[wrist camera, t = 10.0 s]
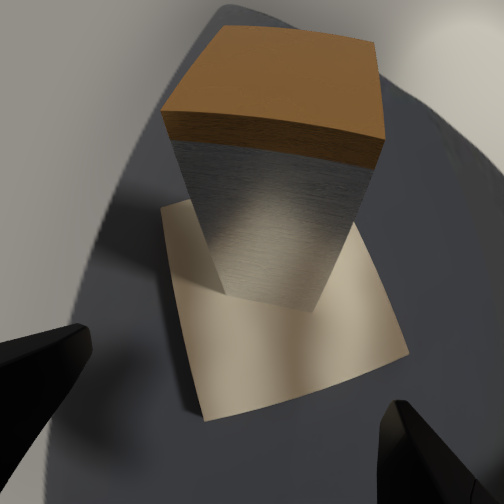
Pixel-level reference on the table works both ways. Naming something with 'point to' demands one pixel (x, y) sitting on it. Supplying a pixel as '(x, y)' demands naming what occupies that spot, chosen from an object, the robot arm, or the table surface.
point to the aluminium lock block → (277, 154)
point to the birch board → (275, 326)
